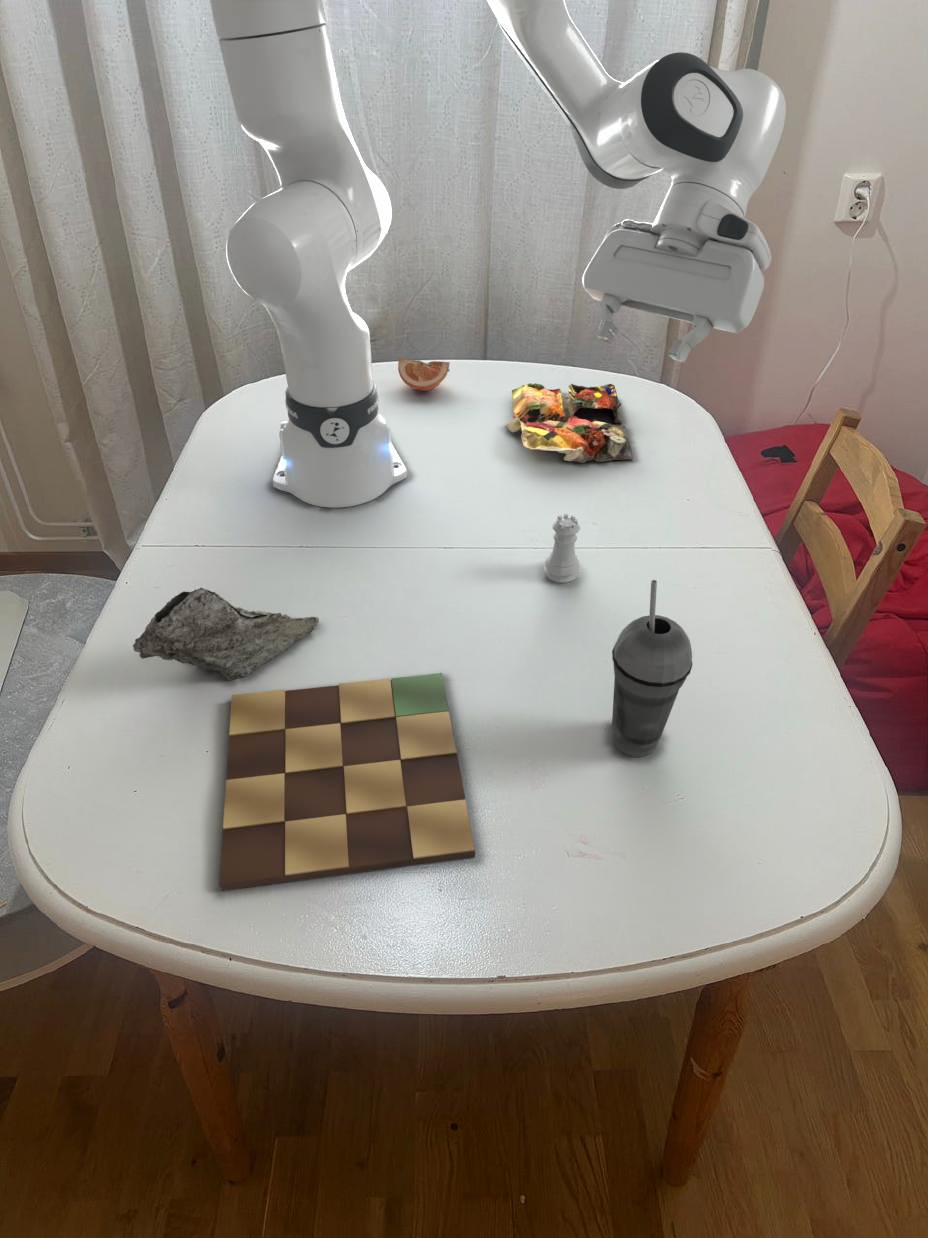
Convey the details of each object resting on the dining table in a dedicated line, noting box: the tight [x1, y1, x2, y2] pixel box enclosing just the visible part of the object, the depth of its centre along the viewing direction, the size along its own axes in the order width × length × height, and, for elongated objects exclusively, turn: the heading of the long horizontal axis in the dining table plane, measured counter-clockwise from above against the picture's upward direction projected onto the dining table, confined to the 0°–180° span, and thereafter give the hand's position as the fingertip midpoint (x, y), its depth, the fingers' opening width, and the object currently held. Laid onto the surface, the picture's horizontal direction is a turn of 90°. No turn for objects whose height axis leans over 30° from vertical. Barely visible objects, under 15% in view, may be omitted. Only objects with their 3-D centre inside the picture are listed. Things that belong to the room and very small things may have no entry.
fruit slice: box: [397, 358, 451, 391], centre depth 140 cm, size 8×7×5 cm
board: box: [218, 672, 476, 891], centre depth 82 cm, size 22×22×1 cm
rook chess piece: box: [543, 513, 581, 584], centre depth 103 cm, size 4×4×8 cm
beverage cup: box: [611, 579, 693, 758], centre depth 79 cm, size 7×7×20 cm
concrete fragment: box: [132, 587, 320, 681], centre depth 90 cm, size 6×19×11 cm, turn 131°
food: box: [504, 382, 634, 464], centre depth 131 cm, size 22×19×4 cm
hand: (638, 348), depth 95 cm, fingers open, 8 cm apart
